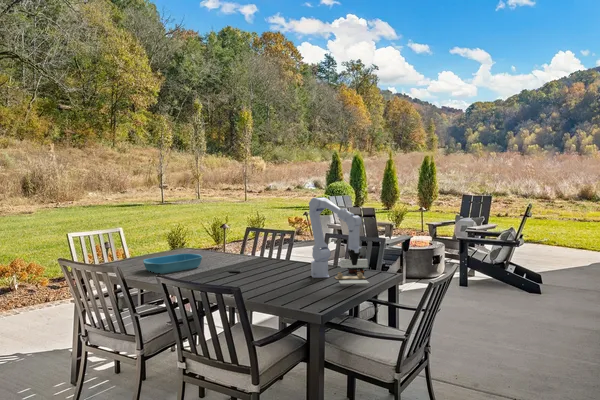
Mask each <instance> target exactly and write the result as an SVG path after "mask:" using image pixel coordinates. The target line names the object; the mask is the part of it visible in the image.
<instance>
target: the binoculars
mask: <svg viewBox="0 0 600 400" xmlns="http://www.w3.org/2000/svg"><path fill="white" fill-rule="evenodd" d="M363 256H364V255H363V254H360V255H359V257H358V259H363V258H364V257H363ZM365 268H366V267H362V268H346V269H347V270H348V274H355V275H357V272H361V274H363V273H365Z"/></svg>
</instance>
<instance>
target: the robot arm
mask: <svg viewBox="0 0 600 400" xmlns="http://www.w3.org/2000/svg"><path fill="white" fill-rule="evenodd" d="M308 207H309V211H308V212H309V213H308V214H309V219H310V224H311V231H312V236H313V240H314V241H313V242H314V245H313V247H312V252H311V253H312V255H311V256H312V258H313V260H311V261H310V262H311V263H310V264H311V265H310V269H311V270H310V275H311V277H312V278H313V279H314V278H315V279H316V278H318V279H319V278H330V275H329V258H330V257H331V255H332V253H331V250H330V248H329V245H328V244H327V242H325V238H324V237H325V236H324V233H323V228H322V223H321V217H320V215H321V213H322V212H323V211H324V210H325V209H327V210H329V211H331V212H333V214H336V215H337V218H338V219H340V220H342V221H343V222H344V223H346V225H347V230H348V247H347V249H348V250H347V253H348V256H349V259H351V260H352V265H357V261H358V259H359V258H360V257H359V256H361V251H359V250H361V249H362V246H360V234H361V233H360V229H361V228H360V227H361V225H362V222H363V220H362V218H361V217H360V215H357V214H356V215H355V213H353V212H351V211H348V208H340V207H338V205H336V204H334V202H333V201H331V200H330V199H329V198H327V197H324V196H323V197H312V198H311V199H310V201H309V202H308Z"/></svg>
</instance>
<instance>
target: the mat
mask: <svg viewBox="0 0 600 400" xmlns="http://www.w3.org/2000/svg"><path fill="white" fill-rule="evenodd" d="M338 282H339V284H340V285H362V284H363V285H365V284H366V285H369V284H370V282H369V281H368V280H367V279H342V280H338Z"/></svg>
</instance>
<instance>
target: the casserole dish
mask: <svg viewBox="0 0 600 400" xmlns="http://www.w3.org/2000/svg"><path fill="white" fill-rule="evenodd" d="M202 259H203V255H201V254H198V253H188V252H187V253H176V254H169V255H163V256H154V257H149V258H144V259H142V261H143V265H144V268H145V269H146V271H148V272H150V271H151V272H150V273H153V272H154V273H153V274H158V273H160V275H163V274H171V273H177V272H183V271H188V270H192V269H196V268H198V267H199V266H200V265H201V263H202Z"/></svg>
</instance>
